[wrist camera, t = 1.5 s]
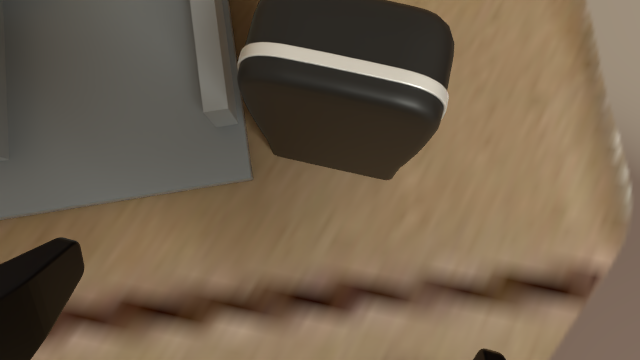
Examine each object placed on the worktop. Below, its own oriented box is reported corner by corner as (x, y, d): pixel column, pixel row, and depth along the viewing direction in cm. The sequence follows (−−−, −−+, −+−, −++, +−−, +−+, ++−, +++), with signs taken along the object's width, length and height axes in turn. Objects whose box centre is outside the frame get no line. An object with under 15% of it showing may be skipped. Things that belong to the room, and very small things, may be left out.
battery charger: (408, 117, 24) (482, -6, 13) (395, 184, 23) (460, 117, 12) (284, 90, 24) (250, -52, 13) (267, 155, 24) (216, 66, 13)
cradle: (253, 179, 24) (242, 168, 20) (-9, 221, 23) (-60, 216, 20) (217, -82, 26) (203, -127, 23) (-18, -47, 26) (-64, -88, 23)
